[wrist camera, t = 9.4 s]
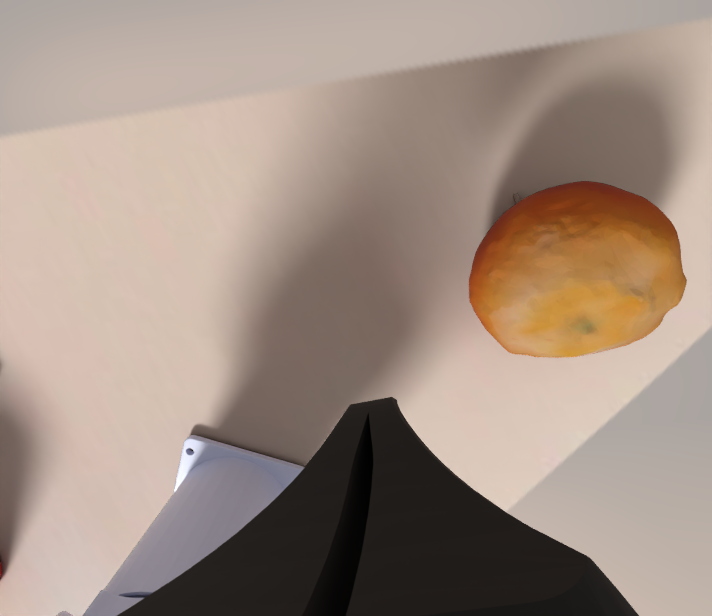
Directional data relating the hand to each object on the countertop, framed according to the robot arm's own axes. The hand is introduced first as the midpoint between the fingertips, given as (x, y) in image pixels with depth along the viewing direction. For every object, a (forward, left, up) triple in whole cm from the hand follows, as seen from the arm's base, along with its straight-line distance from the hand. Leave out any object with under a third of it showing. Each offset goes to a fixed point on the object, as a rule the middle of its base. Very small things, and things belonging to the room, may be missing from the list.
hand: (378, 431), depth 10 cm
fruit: (+6, -7, -11) cm, 14 cm away
